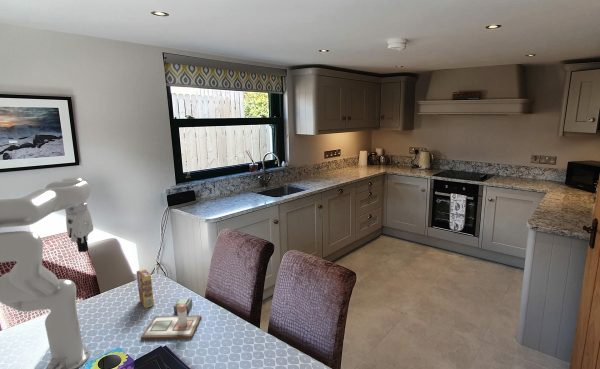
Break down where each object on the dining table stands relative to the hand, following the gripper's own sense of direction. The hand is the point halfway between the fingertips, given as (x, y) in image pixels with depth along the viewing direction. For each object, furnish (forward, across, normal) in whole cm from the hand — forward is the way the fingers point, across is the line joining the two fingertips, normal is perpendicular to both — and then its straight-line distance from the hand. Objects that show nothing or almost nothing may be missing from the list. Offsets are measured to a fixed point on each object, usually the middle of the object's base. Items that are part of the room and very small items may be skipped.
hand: (83, 251), depth 144 cm
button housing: (+32, +7, -36) cm, 49 cm away
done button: (+30, +7, -36) cm, 48 cm away
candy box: (+32, +13, -17) cm, 39 cm away
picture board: (+32, -7, -36) cm, 49 cm away
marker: (+31, -7, -40) cm, 51 cm away
